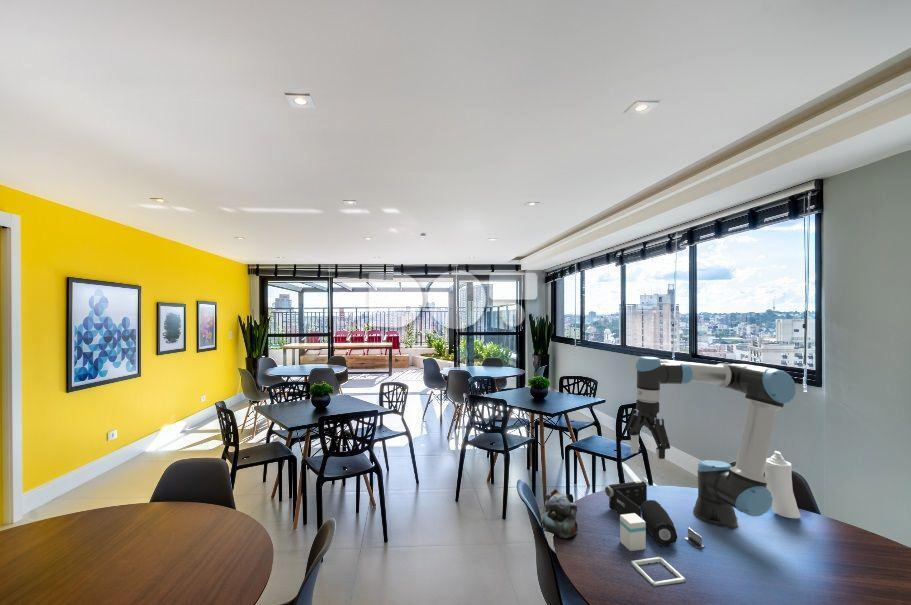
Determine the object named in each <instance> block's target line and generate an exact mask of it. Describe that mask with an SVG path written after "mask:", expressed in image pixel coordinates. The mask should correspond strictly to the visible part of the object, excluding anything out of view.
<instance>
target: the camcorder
mask: <svg viewBox="0 0 911 605" xmlns="http://www.w3.org/2000/svg"><path fill="white" fill-rule="evenodd" d="M647 489H648V485H647V483H646V482H645V481H643V480H642V481H641V480H640V481H630V482H621V483H615V484H609V485H607V486H605V487H604V492H605V494H606V497H608V500H609V501H608V508H609V509H610V510H611V511H615V512H616V513H617V514H618V515H619V516H620V515H623V514H631V513H635V514H637V515H638V516H639V517H640V518H641V519H642V512H641V505H642V503H643V502H644V501H647V500H648V494H647V493H648V492H647V491H648V490H647Z"/></svg>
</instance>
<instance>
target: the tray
mask: <svg viewBox="0 0 911 605" xmlns="http://www.w3.org/2000/svg"><path fill="white" fill-rule="evenodd" d="M630 562H631V563H630V564H631V566H632V567H633V568H635V570H637V572H639V573H640V575H641V576H643V577H644V578H645V579H646V580H647V581H648V582H649V583H650V584H651V585H652V586H653V587H656V586H663V585H664V586H665V585H670V584H671V585H672V584H678V583H680V584H681V583H686V578H685V577H684V576H683V575H682V574H680V572H679V571H678V570H676V569H675V568H674V567H673V566H672V565H671V564H669V563H668V562H667V560H665V559H664V558H663V557H662V556H655V557H651V558H650V557H649V558H644V559H637V560H631V561H630ZM655 562H658V563H661V564H662V565H663V566H664V565H665V566H666V567H665V566H664V567H665V568H666V569H668V570H669V571H670V572H671V573H672V572H673V573H672V574H674V575H675V576H676V578H670V579H663V580H658V581H655V580H653V579H652V578H651V577H650V576H649V575H648V574H647V573H646V572H645V571H644V570H643V569H642V568H641V567H640V566H641V565H642V566H643V565H648V563H650V564H656V563H655Z"/></svg>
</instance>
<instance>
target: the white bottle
mask: <svg viewBox="0 0 911 605" xmlns="http://www.w3.org/2000/svg"><path fill="white" fill-rule="evenodd" d="M773 453H774V454H772V455H771V456H770V457H767V460H766V465H765V470H764V477H765V479H766V480H767V487H766V488H767V489H768V490H769V491H770V492H771V495H772V498H773V501H772V505H771V507H770V508H771V510H772V511H773V512H774V513H775V514H777V515H779V516H782V517H785V518H789V519H799V518H801V517H802V516H801V513H800V510H799V508H798V505H797V500H796V497H795V493H794V489H793V488H794V487H793V477H792V476H793V475H792V472H793V471H792V470H793V467H792V463H791V462H789V461H786V460H785V457H783V455H782V453H781V452H780V451H778V450H774V452H773Z"/></svg>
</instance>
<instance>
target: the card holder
mask: <svg viewBox="0 0 911 605" xmlns="http://www.w3.org/2000/svg"><path fill="white" fill-rule="evenodd" d="M702 539H703V537H702V536H701V535H700V534H699V533H697V532H695V531H694V530H693V529H692V528H690V527H687V537H684V540H686V541H687V542H688V543H690V544H691V545H693V547H695V548H696V549H704V548H706V546H705V545H704V544H703V540H702Z"/></svg>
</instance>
